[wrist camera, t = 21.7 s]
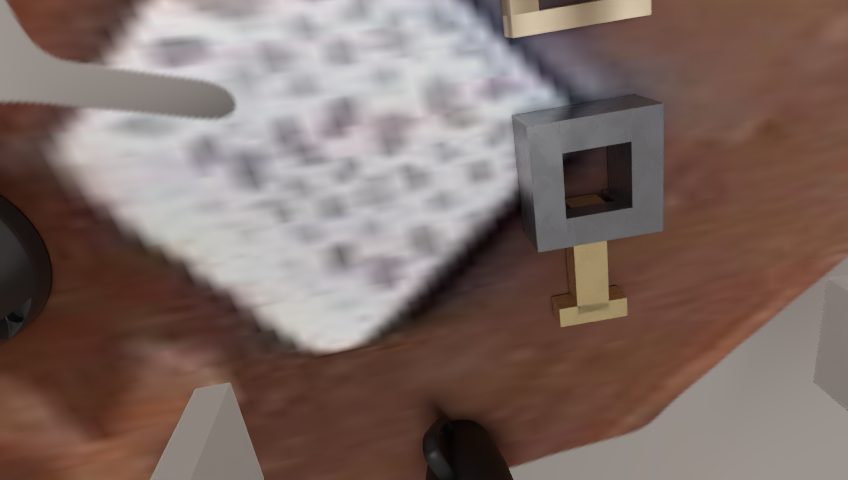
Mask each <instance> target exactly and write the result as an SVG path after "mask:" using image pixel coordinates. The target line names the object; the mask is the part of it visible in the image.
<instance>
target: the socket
mask: <svg viewBox="0 0 848 480" xmlns="http://www.w3.org/2000/svg"><path fill="white" fill-rule="evenodd" d="M512 119H513V130H514V140H515V150H516V161H517V171H518V181H519V192H520V202H521V213H522V223H523V230H524V232H525V234H526V235H527V237H528V238H529V240H530V241H531V243H532V244H533V246H534V247H535V249H536V250H537V252H544V251H550V250H556V249H561V248H567V247H573V246H579V245H585V244H590V243H596V242H602V241H608V240H613V239H619V238H625V237H631V236H636V235H642V234H648V233H654V232H660V231H663V154H664V103H661V102H658V101H655V100H652V99H649V98H645V97H642V96H639V95H636V94H633V95H627V96H621V97H615V98H610V99H604V100H598V101H592V102H586V103H581V104H575V105H569V106H563V107H557V108H551V109H546V110H540V111H534V112H528V113H522V114H516V115H512ZM603 146H607V163H608V189H605V190H601V192H602V200H603V201H605V203H600V204H594V205H589V206H583V207H577V208H571V209H566V207H565V192H564V176H563V161H562V153H568V152H574V151H579V150H585V149H591V148H597V147H603Z"/></svg>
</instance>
